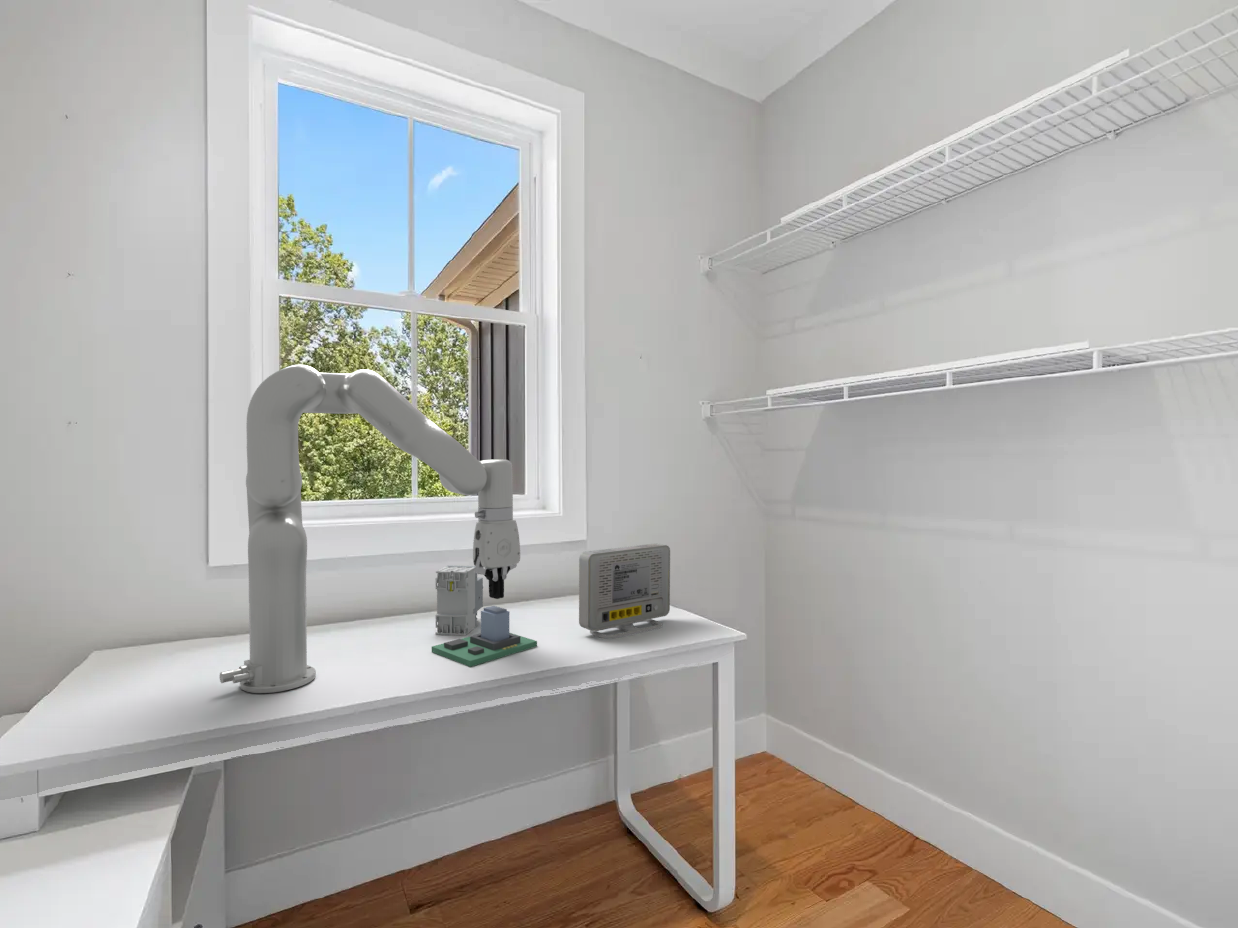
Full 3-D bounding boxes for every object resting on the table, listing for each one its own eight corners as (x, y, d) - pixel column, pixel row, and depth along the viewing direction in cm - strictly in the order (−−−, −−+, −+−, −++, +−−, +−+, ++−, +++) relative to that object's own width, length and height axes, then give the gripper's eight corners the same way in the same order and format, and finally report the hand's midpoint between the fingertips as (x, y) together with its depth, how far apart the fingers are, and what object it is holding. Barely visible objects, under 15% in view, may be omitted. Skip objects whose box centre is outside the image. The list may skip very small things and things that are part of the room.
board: (470, 666, 128) (470, 654, 128) (431, 651, 138) (431, 640, 137) (537, 646, 142) (537, 634, 142) (497, 633, 151) (497, 623, 151)
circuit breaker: (484, 619, 164) (484, 561, 164) (466, 635, 150) (466, 572, 150) (456, 618, 165) (456, 561, 165) (435, 634, 151) (435, 571, 150)
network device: (654, 617, 167) (655, 541, 167) (676, 624, 160) (677, 545, 160) (573, 633, 152) (573, 550, 151) (594, 642, 145) (595, 555, 144)
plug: (494, 646, 137) (494, 612, 137) (480, 642, 141) (480, 608, 141) (509, 642, 140) (509, 608, 140) (494, 638, 144) (494, 604, 144)
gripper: (478, 519, 132) (479, 606, 132) (532, 513, 143) (533, 594, 144) (457, 516, 137) (458, 601, 137) (511, 511, 148) (512, 589, 149)
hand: (496, 597), depth 140 cm, fingers closed
